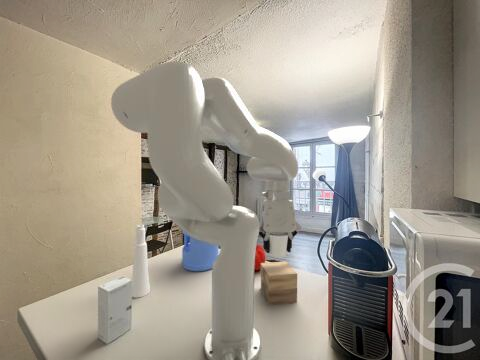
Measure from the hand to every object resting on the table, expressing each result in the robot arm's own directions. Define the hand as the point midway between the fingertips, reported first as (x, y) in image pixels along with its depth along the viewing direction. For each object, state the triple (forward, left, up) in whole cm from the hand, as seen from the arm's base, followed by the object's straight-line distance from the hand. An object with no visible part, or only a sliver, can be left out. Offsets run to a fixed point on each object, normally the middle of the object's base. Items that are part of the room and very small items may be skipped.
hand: (277, 250), depth 66 cm
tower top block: (0, 0, -10) cm, 10 cm away
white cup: (0, 0, -1) cm, 1 cm away
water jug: (+26, +26, -15) cm, 40 cm away
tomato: (+20, +4, -15) cm, 25 cm away
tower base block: (0, 0, -15) cm, 15 cm away
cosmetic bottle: (+6, +44, -15) cm, 47 cm away
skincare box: (-11, +44, -15) cm, 48 cm away
